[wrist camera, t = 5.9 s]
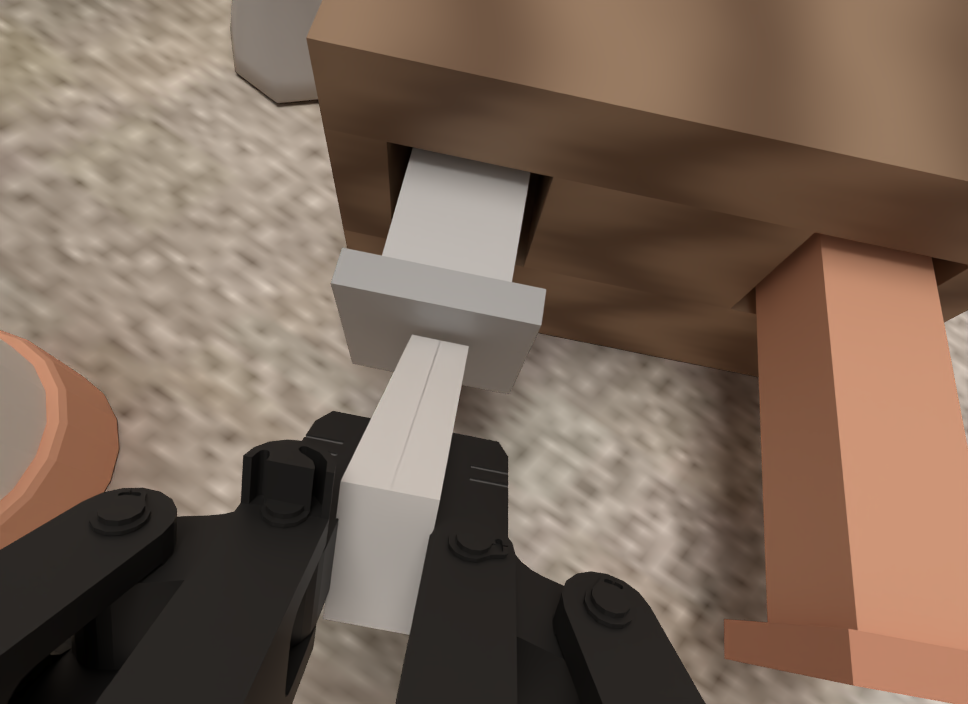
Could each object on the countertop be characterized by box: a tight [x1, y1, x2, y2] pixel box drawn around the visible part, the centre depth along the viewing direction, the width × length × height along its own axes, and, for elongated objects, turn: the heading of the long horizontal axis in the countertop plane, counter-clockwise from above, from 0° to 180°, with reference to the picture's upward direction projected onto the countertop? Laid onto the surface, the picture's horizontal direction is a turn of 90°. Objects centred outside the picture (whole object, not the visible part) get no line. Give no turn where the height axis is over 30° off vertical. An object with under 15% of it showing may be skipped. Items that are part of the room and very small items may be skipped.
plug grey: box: [331, 147, 546, 394], centre depth 18 cm, size 5×14×5 cm, turn 171°
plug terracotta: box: [724, 232, 968, 704], centre depth 16 cm, size 5×14×5 cm, turn 171°
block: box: [306, 0, 968, 377], centre depth 21 cm, size 20×10×12 cm, turn 81°
